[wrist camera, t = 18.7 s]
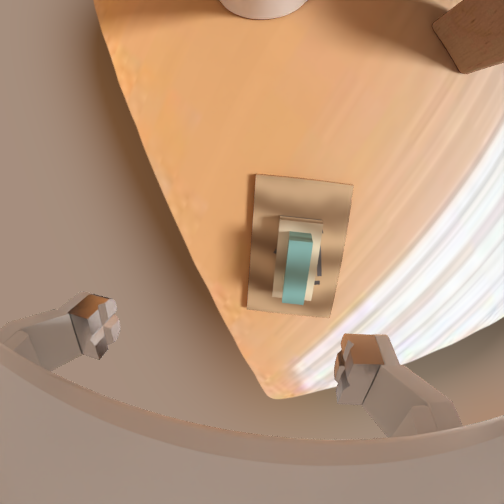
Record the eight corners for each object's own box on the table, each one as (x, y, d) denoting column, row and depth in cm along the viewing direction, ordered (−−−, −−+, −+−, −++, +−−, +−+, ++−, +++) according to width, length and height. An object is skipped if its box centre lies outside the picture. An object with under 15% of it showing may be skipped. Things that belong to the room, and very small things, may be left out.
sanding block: (280, 215, 41) (278, 227, 35) (321, 219, 41) (326, 232, 35) (273, 289, 45) (269, 310, 39) (310, 293, 45) (312, 315, 39)
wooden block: (460, 76, 29) (537, 54, 11) (427, 25, 27) (489, -22, 9) (491, 64, 26) (563, 46, 8) (462, 16, 24) (522, -20, 6)
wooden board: (256, 173, 41) (255, 174, 40) (352, 184, 39) (353, 185, 38) (247, 306, 48) (246, 309, 47) (329, 315, 47) (329, 318, 46)
